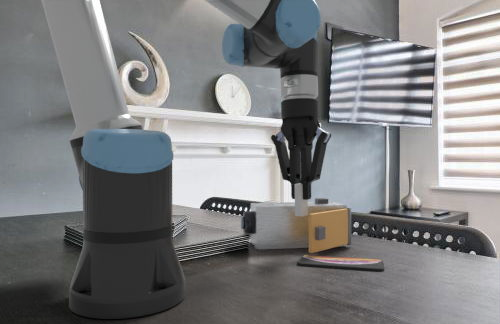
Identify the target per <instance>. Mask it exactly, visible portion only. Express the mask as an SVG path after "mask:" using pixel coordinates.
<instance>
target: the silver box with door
mask: <svg viewBox="0 0 500 324" xmlns="http://www.w3.org/2000/svg"><path fill="white" fill-rule="evenodd" d="M346 208H348V207H347V204H345V203H344V204H343V203H341V202H337V201H329V198H326V197H321V198H319V197H316V198H314V201H308V215H306V216H302V217H300V216H295V201H294V202H293V201H292V202H291V201H290V202H285V201H284V202H278V203H262V202H250V210H249V211H248V210H247V211H243V213H242V216H240V229H241V230H243V234H244V235H250V243H251V244H252V245H254V246H253V247H254V248H255V250H256V249H258V250H279V249H281V250H283V249H284V250H285V249H307V248H308V249H309V214H313V213H320V212H326V211H333V210H340V209H346ZM347 246H348V245H347V244H345V245H341V246H338V247H347ZM338 247H337V248H338Z"/></svg>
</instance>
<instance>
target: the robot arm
mask: <svg viewBox="0 0 500 324" xmlns="http://www.w3.org/2000/svg"><path fill="white" fill-rule="evenodd" d="M40 1H41V4H42V7H43V11H44V14H45V18H46V22H47V26H48V29H49V33H50V37H51V40H52V45H53V47H54V52H55V54H56V58H57V61H58V65H59V68H60V73H61V76H62V80H63V84H64V87H65V92H66V94H67V97H68V98H67V99H68V102H69V104H70V105H69V106H70V109H71V113H72V116H73V119H74V123H75V129H74V130H73V132H72V134H71V135H70V137H69V138H68V140H69V142H70V143H69V144H70V148H71V151H72V154H73V159H74V161H75V166H76V168H77V173H78V180H79V186H80V188H81V191H82V214H83V215H82V229H83V230H82V231H83V232H82V233H83V234H82V236H83V237H82V238H83V239H82V241H83V242H82V243H83V244H82V248H81V252H80V254H79V257H78V261H77V264H76V265H75V266H76V267H75V269H74V273H73V276H72V279H71V282H70V285H69V288H68V308H69V309H70V311H71V312H73V313H74V314H76V315H79V316H81V317H86V318H90V319H102V320H112V319H114V320H118V319H119V320H120V319H130V318H132V319H133V318H137V317H143V316H149V315H152V314H157V313H160V312H162V311H166V310H168V309H172V308H173V307H175V306H176V305H178V304H179V303H181V302H182V301H183V300H184V298H185V297H186V278H185V274H184V271H183V268H182V265H181V262H180V259H179V256H178V253H177V250H176V248H175V244H174V239H173V160H174V151H173V146H172V140H171V139H172V138H171V136H170V135H169V134H167V133H166V132H165V131H160V130H151V129H150V130H149V129H148V130H147V129H144V128H143V125H142V123H141V122H140V121H138V120H136V119H135V118H133V117H132V116H131V115H130V111H129V107H128V104H127V101H126V96H125V92H124V90H123V85H122V82H121V81H122V80H121V77H120V75H119V74H120V73H119V69H118V67H117V63H116V58H115V55H114V50H113V47H112V42H111V39H110V35H109V32H108V28H107V27H108V26H107V24H106V20H105V16H104V13H103V9H102V5H101V1H100V0H40ZM204 2H205V3H208V4H209V5H211V6H213V7H214V8H215V9H217V10H218V11H220V12H221V13H223V14H224V15H226V16H227V17H229V18H230V19H232V20H233V21H235V22H236V23H231V24H229V25H227V27H226V28H225V30H224V32H223V36H222V42H221V43H222V44H221V50H222V51H221V52H222V57H223V59H224V61H225V62H226V63H227V64H229V65H233V66H239V67H240V68H241V67H242V68H243V67H248V68H249V67H250V68H262V69H263V68H265V69H266V68H267V69H268V68H269V69H275V70H276V69H277V70H278V69H279V72H280V98H281V99H283V100H282V101H281V102H280V112H281V113H280V117H281V121H282V124H281V126H280V130H279V131H278V132H277V133H276V134H272V135H271V136H270V139H271V141H272V143H273V145H274V147H275V150H276V156H277V161H278V165H279V169H280V173H281V178H282V180H284V181H288V182H289V183H290V187H291V188H290V190H291V192H290V193H291V194H290V195H291V200H294V202H295V216H300V217H302V216H306V215H308V202H309V200H311V199H312V183H314V182H316V181H318V180H320V179H321V175H322V170H323V164H324V161H325V154H326V149H327V146H328V143H329V141H330V139H331V138H332V133H331V132H330V131H329V132H328V131H325V130H324V129H323V128H321V124H320V122H319V101H318V99H317V98H318V97H319V79H318V77H319V75H318V73H319V72H318V69H319V68H318V67H319V66H318V64H319V63H318V58H319V57H318V52H319V51H318V46H319V42H318V32H319V31H320V27H321V23H322V16H321V15H322V14H321V11H320V7H319V5H318V4H317V2H316V1H315V0H204ZM315 138H316V142H315V145H314V147H313V143H314V142H313V141H314V140H315ZM285 141H287V144H286V142H285ZM313 148H314V151H313V154H312V150H313Z"/></svg>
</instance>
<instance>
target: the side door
mask: <svg viewBox="0 0 500 324" xmlns="http://www.w3.org/2000/svg"><path fill="white" fill-rule="evenodd" d="M345 244H347V246H352V207H347V208H346V209H340V210H333V211H326V212H320V213H313V214H309V248H308V253H310V254H314V253H318V252H322V251H325V250H329V249H333V248H338V246H341V245H345ZM341 247H342V246H341Z"/></svg>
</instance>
